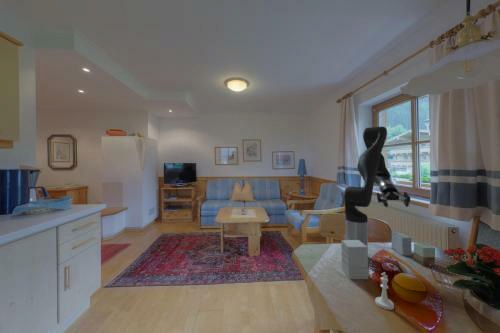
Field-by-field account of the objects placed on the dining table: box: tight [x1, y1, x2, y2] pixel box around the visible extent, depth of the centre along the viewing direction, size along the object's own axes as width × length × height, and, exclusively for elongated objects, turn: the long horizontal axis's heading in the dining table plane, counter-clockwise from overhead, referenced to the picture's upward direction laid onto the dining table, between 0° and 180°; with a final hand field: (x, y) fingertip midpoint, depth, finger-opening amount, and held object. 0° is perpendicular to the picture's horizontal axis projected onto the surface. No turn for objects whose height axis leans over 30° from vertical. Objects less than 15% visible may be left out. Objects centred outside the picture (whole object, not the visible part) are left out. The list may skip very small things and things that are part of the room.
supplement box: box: [340, 239, 369, 280], centre depth 80 cm, size 7×7×13 cm
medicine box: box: [390, 232, 413, 257], centre depth 99 cm, size 8×4×9 cm, turn 179°
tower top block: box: [413, 242, 436, 258], centre depth 88 cm, size 5×5×4 cm
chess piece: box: [374, 271, 395, 310], centre depth 63 cm, size 5×5×10 cm
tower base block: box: [413, 251, 436, 267], centre depth 88 cm, size 5×5×4 cm
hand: (397, 205), depth 102 cm, fingers open, 8 cm apart
